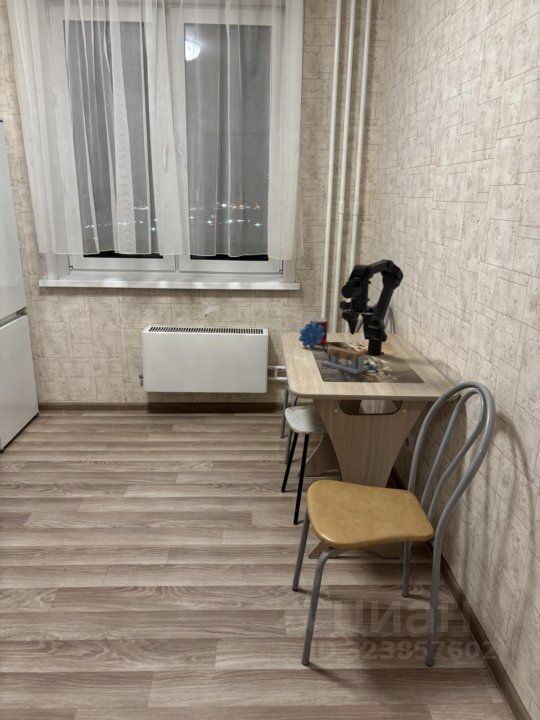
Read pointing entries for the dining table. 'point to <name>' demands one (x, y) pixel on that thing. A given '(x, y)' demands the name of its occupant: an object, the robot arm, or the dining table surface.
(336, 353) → the brown rectangular block
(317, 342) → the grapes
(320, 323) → the canned food
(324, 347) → the dining table surface
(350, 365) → the display cradle
